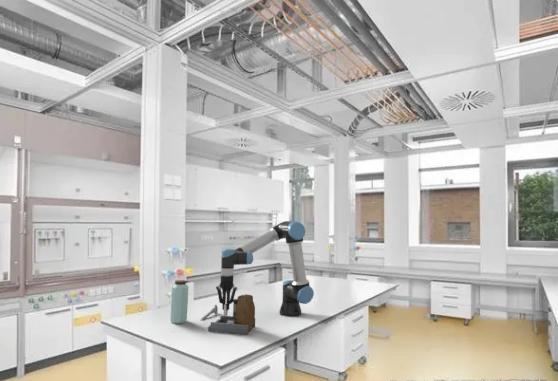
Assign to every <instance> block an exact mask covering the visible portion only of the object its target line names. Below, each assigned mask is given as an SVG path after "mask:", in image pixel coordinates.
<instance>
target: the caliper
mask: <svg viewBox="0 0 558 381" xmlns="http://www.w3.org/2000/svg"><path fill="white" fill-rule="evenodd" d="M218 310H219V309H218V305H217V304H215V305H214V307H213V308H211V310H210V311H209V312H206V314H204V316H202V317H201V319H200V321H205V320H206V319H207V318H208V317H209V316H210V315H212V314H214V315H217V314H218Z"/></svg>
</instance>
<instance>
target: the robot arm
mask: <svg viewBox="0 0 558 381" xmlns="http://www.w3.org/2000/svg"><path fill="white" fill-rule="evenodd" d="M305 236H306V229H305V226H304V225H303V223H302V222H299V221H295V220H294V221H292V220H290V221H289V220H287V221H282V222H280V223H278V224H276V225H275V226H273V227H271V228H270V229H269V230H268V231H267V232H265V233H263V234H261V235H259V236H258V237H256V238H254V239H253V240H250V241H248V242H246V243H245V244H243V245H241V246H240V247H238V248H235V249H234V248H223V249H222V251H221V268H220V283H219V284H218V285H217V286H216V287H215V289H216V290H217V295H218V302H219V304H222V306H221V307H222V308H221V309H222V311H223V316H229V315H228V313H229V311H230V305H231V304H234V302H233V299H235V296H236V292H237V290H238V286H237V287H236V286H235V284H234V274H235V272H234V271H235V266H238V265H239V266H240V265H251V264H253V261H254V255H253V253H255V252H257V251H259V250H261V249H262V248H264V247H266V246H268V245H269V244H272V243H273V242H275V241H276V242H278V241H280V240H283V239H285V244H286V245H288V248H289V249H288V250H289V258H290V263H291V271H292V279H288V280H287V279H286V280H284V281H283V282H282V300H281V301H282V302H281V305H280V308H279V314H280V315H281V316H284V317H293V318H294V317H300V316H302V308H301V305H300V304H303V305H304V304H305V305H307V304H308V303H310V302H311V301H312V299H313V298H314V295H315V292H314V289H313V288H312V287H311V286H310V280H308V279H307V274H306V273H307V272H306V266H305V259H304V253H303V252H304V251H303V244H302V243H304V237H305ZM231 290H232V292H231Z"/></svg>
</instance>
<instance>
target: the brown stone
mask: <svg viewBox="0 0 558 381" xmlns="http://www.w3.org/2000/svg"><path fill="white" fill-rule="evenodd" d="M237 299H238V302H237V307H236V319H235V324H243V325H248V332H250V331H252V329H253V328H254V327H253V325H254V321H255V322H256V306H255V302H254V296H253V295H252V294H248V293H247V294H241V295H238V296H237Z"/></svg>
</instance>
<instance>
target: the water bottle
mask: <svg viewBox="0 0 558 381" xmlns="http://www.w3.org/2000/svg"><path fill="white" fill-rule="evenodd" d="M188 302H189V285H188V284H187V280H186V279H176V280H175V281H174V285H173V286H172V288H171V302H170V304H171V305H170V323H172V324H175V325H176V324H180V325H181V324H184V323H186V321H187V319H188V306H189V303H188Z"/></svg>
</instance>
